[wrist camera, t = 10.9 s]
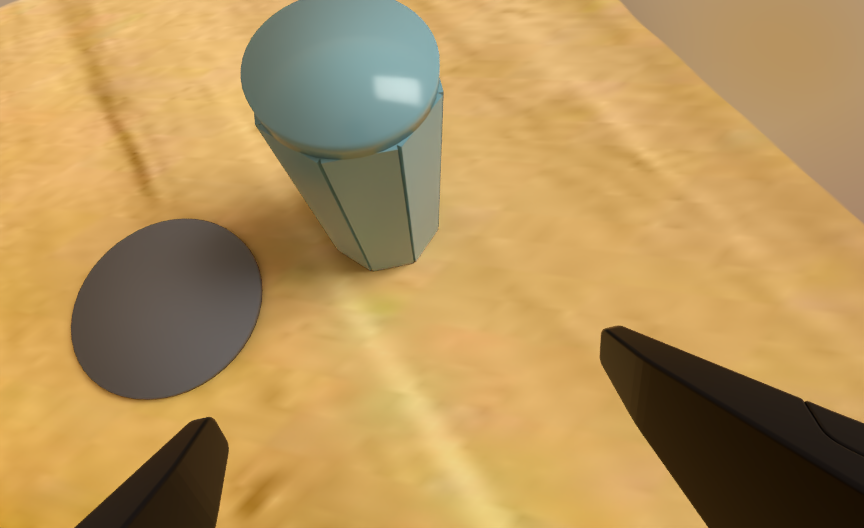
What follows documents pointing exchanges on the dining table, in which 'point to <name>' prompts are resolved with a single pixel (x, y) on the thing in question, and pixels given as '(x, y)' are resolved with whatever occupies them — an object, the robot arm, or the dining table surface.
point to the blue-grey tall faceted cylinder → (354, 120)
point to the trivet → (166, 309)
